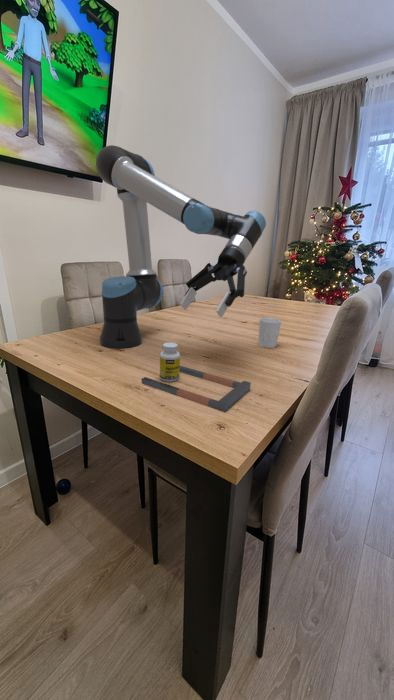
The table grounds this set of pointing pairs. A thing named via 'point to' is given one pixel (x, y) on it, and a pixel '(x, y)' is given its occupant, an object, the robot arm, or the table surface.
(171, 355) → the supplement bottle
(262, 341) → the white cup
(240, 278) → the robot arm
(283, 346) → the table surface
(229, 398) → the grey brown flat u-shape
